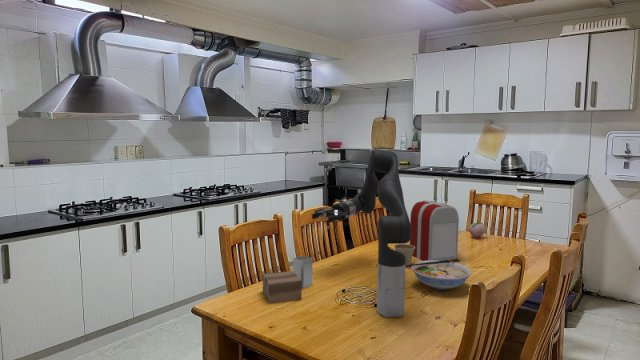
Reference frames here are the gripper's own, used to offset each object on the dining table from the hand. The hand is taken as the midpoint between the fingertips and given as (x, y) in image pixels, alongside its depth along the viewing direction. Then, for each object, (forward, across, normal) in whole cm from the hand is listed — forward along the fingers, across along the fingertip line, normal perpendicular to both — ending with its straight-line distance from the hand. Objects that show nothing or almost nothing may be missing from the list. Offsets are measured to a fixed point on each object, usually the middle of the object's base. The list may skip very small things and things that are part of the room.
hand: (320, 218), depth 182 cm
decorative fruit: (-108, +27, +32) cm, 116 cm away
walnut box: (+26, +2, +24) cm, 35 cm away
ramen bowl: (-21, +44, +26) cm, 55 cm away
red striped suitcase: (-57, +24, +29) cm, 68 cm away
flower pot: (-37, +19, +28) cm, 50 cm away
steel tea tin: (+13, 0, +25) cm, 28 cm away
